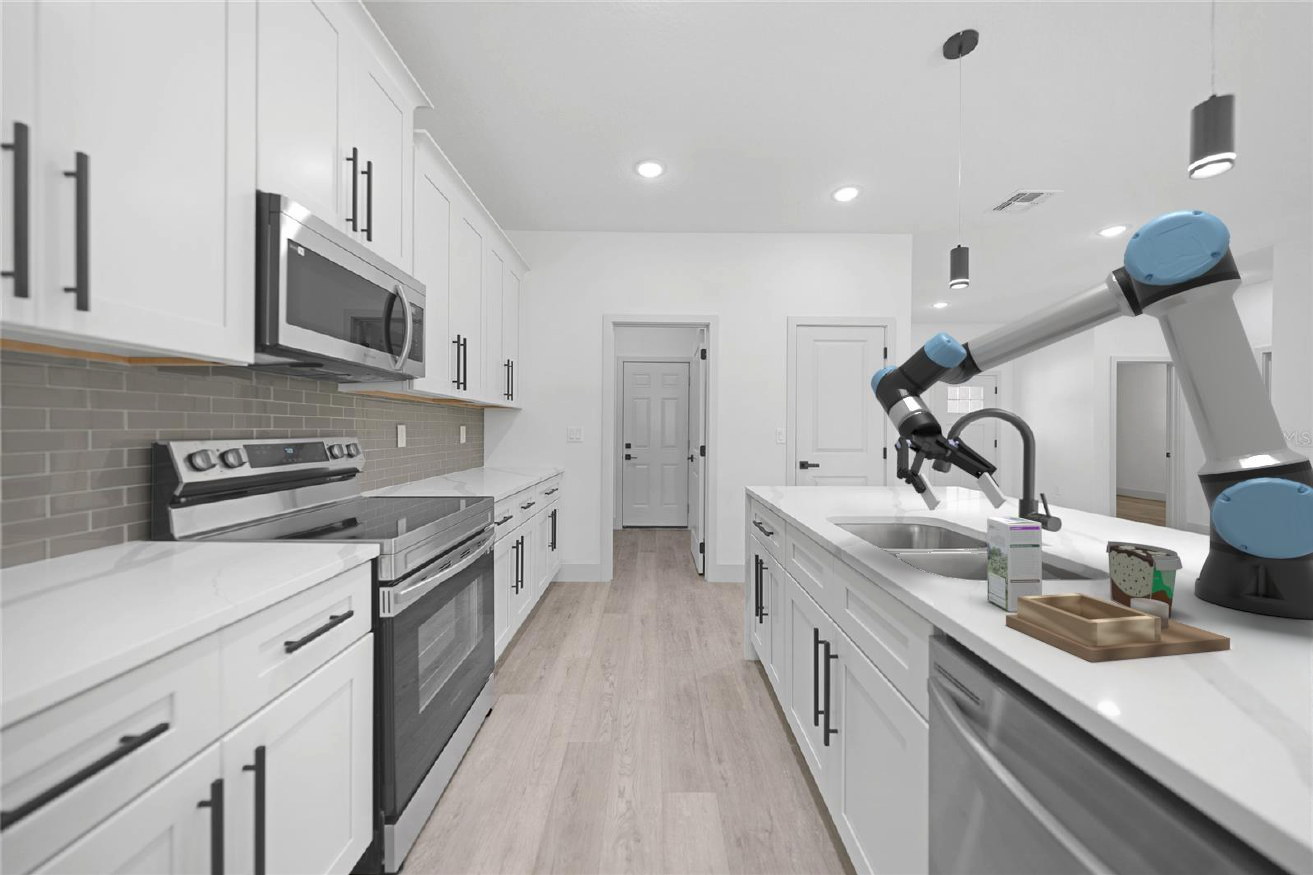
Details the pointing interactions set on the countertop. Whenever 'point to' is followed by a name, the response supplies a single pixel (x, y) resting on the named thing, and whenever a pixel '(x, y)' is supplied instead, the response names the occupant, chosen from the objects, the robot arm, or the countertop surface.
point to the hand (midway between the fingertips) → (968, 505)
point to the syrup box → (1013, 560)
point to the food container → (1141, 572)
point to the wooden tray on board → (1109, 627)
